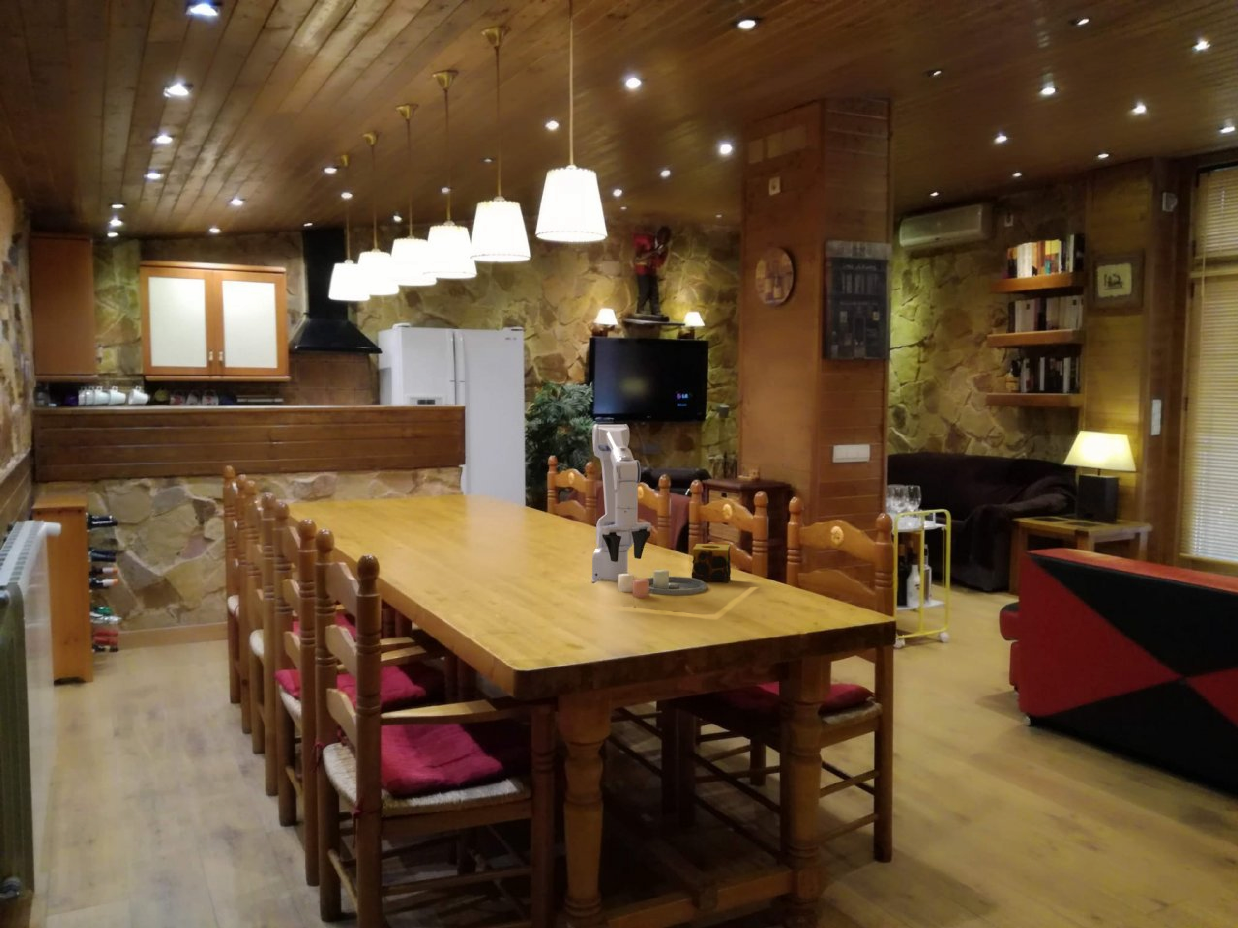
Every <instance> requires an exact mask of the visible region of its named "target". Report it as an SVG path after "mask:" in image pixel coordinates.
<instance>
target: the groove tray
mask: <svg viewBox="0 0 1238 928" xmlns="http://www.w3.org/2000/svg"><path fill="white" fill-rule="evenodd" d="M653 578H654V577H647V578H645V579H646V580H649V594H654V595H655V594H656V595H664V596H685V595H686V596H688V595H695V594H700V593H703V592H704V591H706V590H707V588H708V584H707V582H704V581H702V580H698V579H694V578H692V577H684V576H669V589H659V588H653Z"/></svg>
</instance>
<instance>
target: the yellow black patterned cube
mask: <svg viewBox="0 0 1238 928" xmlns="http://www.w3.org/2000/svg"><path fill="white" fill-rule="evenodd" d="M691 563H692V570H691V578H694V579H698V580H702V581H704V582H705V583H722V584H728V583H729V582H730V581H731V580H732V579H731V578H732V577H731V576H732V574H731V573H732V569H731V545H730V544H720V543H719V544H714V543H712V544H710V543H696V544H695V545H694V547H693V548H692V561H691Z"/></svg>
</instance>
